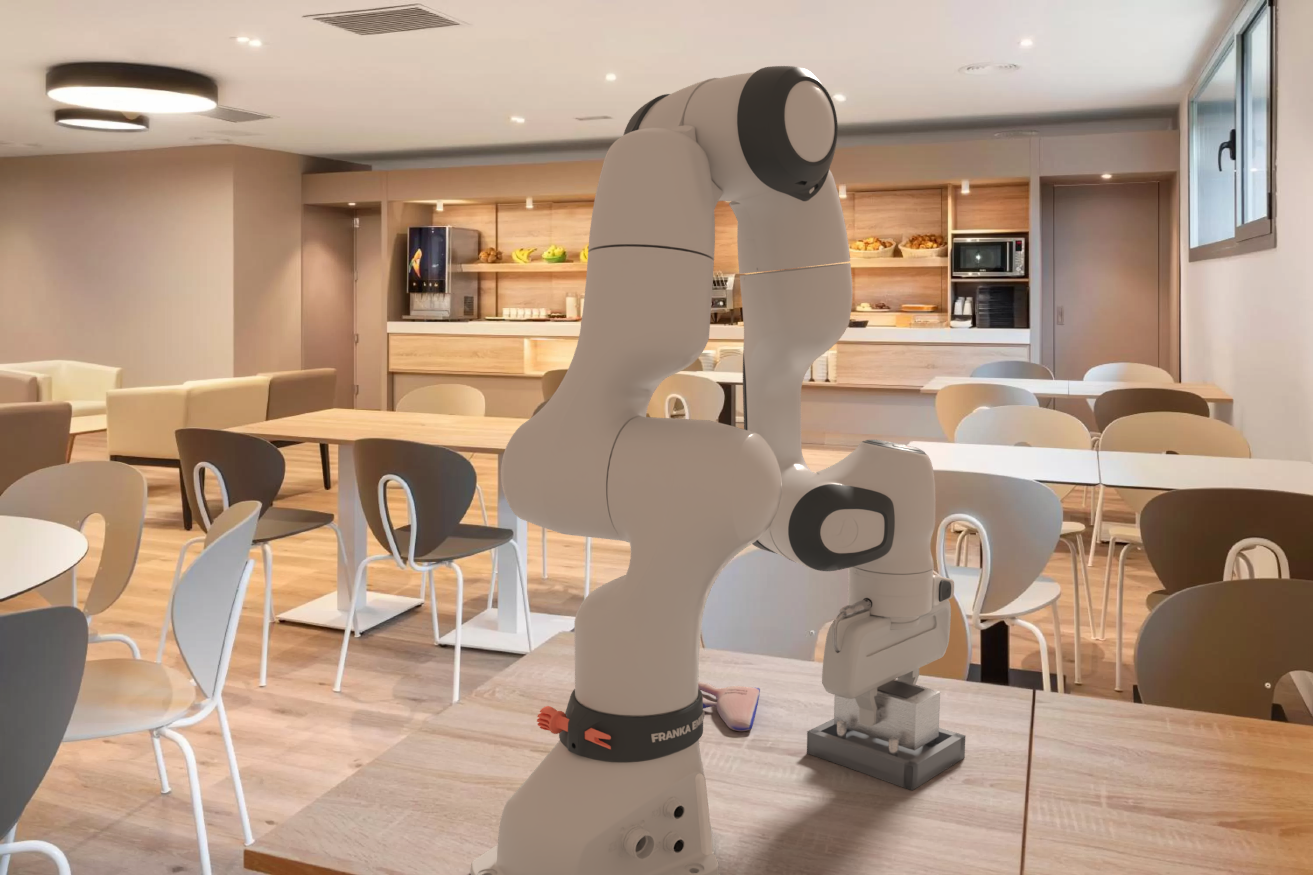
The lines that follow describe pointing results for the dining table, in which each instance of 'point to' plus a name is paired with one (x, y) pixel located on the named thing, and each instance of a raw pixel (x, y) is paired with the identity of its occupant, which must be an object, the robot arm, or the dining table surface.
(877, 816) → the dining table surface
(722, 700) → the anatomical model
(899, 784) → the pin tray
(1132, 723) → the dining table surface
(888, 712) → the block
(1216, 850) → the dining table surface
